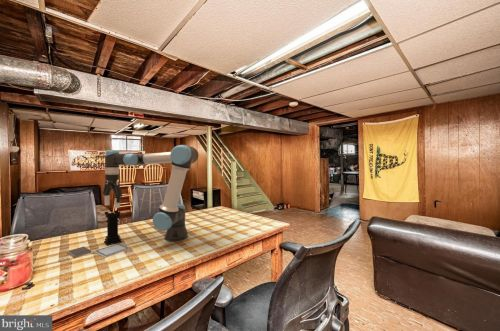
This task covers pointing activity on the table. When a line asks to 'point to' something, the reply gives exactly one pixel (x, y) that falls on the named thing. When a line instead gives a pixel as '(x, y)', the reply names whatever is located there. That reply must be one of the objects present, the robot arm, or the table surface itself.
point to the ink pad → (79, 252)
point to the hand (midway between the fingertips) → (112, 206)
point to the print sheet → (111, 250)
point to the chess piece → (112, 228)
